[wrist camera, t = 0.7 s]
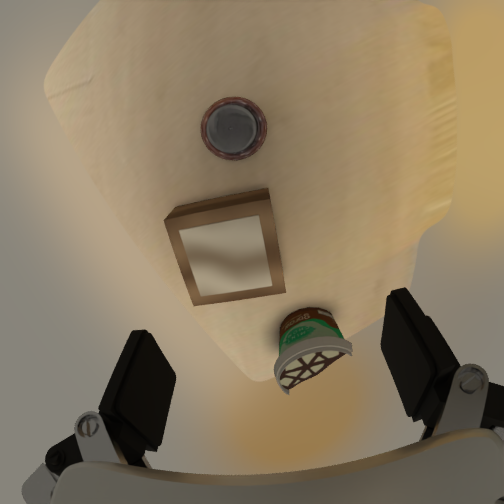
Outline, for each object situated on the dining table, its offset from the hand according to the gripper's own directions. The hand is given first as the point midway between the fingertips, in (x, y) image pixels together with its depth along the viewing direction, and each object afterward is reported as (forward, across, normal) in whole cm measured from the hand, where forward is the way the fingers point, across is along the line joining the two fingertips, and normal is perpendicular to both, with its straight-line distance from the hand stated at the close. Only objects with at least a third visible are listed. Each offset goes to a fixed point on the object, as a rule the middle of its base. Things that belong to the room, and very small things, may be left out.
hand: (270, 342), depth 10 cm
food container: (+25, -2, +22) cm, 34 cm away
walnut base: (+26, +5, +7) cm, 27 cm away
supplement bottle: (+26, +1, -7) cm, 27 cm away
